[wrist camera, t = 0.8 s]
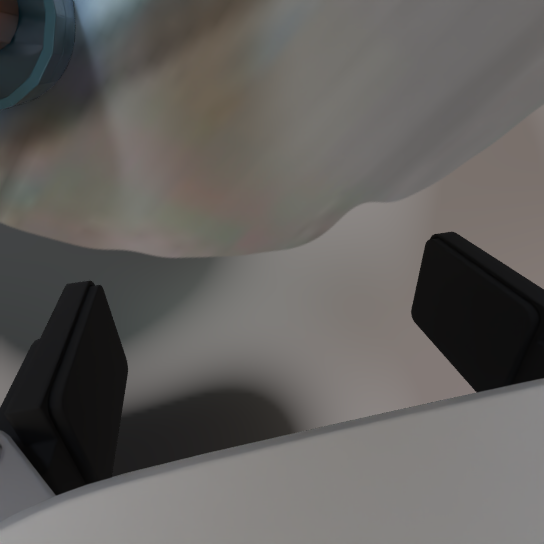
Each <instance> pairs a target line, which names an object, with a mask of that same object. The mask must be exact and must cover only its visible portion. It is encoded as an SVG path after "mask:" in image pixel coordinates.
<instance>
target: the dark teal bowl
mask: <svg viewBox="0 0 544 544" xmlns="http://www.w3.org/2000/svg"><path fill="white" fill-rule="evenodd" d="M17 3H18V13H19V18H18V25H17V29H16V31H15V34H14V36H13V38H12V39H11V42H10V43H9V44H7V45H6V46H5V47H3V48H2V49H1V50H0V110H4V109H7V108H10V107H13V106H16V105H19V104H22V103H25V102H28V101H31V100H34V99H37V98H38V97H40V96H41V95H42V94H44V93H45V92H47V91H48V90H49V89H50V88H51V87H52V86H54V85H55V84H56V82H57V81H58V80H59V79H60V77H61V76H62V75H63V73H64V71H65V69H66V67H67V66H68V63H69V60H70V58H71V55H72V51H73V46H74V41H75V11H74V6H73V0H17Z"/></svg>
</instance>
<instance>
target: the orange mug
mask: <svg viewBox="0 0 544 544" xmlns="http://www.w3.org/2000/svg"><path fill="white" fill-rule="evenodd" d="M18 18H19V13H18V3H17V0H0V50H1V49H2V48H3V47H5V46H6V45H7V44H9V43H10V42H11V39H12V38H13V36H14V34H15V31H16V29H17V25H18Z"/></svg>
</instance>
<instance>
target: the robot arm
mask: <svg viewBox="0 0 544 544" xmlns="http://www.w3.org/2000/svg"><path fill="white" fill-rule="evenodd" d="M411 314H412V318H413V320H414V322H415V323H416V324H417V325H418V326H419V328H420V329H421V330H422V331H423V332H424V333H425V334H426V336H427V337H428V338H429V339H430V340H431V341H432V342H433V343H434V345H435V346H436V347H437V348H438V349H439V350H440V351H441V352H442V353H443V355H444V356H445V357H446V358H447V359H448V360H449V361H450V363H451V364H452V365H453V366H454V367H455V368H456V369H457V371H458V372H459V373H460V374H461V375H462V376H463V377H464V379H465V380H466V381H467V382H468V383H469V384H470V385H471V386H472V388H473V389H474V390H475V391H476V392H477V393H473V394H468V395H464V396H459V397H454V398H450V399H445V400H440V401H436V402H431V403H427V404H423V405H418V406H414V407H409V408H404V409H400V410H395V411H391V412H386V413H382V414H378V415H373V416H369V417H365V418H360V419H356V420H351V421H346V422H342V423H338V424H333V425H329V426H324V427H320V428H315V429H311V430H306V431H303V432H298V433H293V434H289V435H285V436H280V437H276V438H272V439H267V440H263V441H258V442H254V443H250V444H245V445H241V446H237V447H233V448H228V449H223V450H219V451H215V452H210V453H206V454H202V455H198V456H194V457H190V458H187V459H182V460H178V461H174V462H170V463H166V464H162V465H158V466H154V467H150V468H146V469H141V470H137V471H133V472H129V473H126V474H122V475H119V476H115V477H112V472H113V466H114V459H115V452H116V446H117V439H118V433H119V427H120V420H121V413H122V407H123V401H124V394H125V388H126V381H127V374H128V365H127V360H126V356H125V354H124V350H123V347H122V344H121V341H120V338H119V335H118V332H117V329H116V326H115V323H114V320H113V317H112V314H111V311H110V308H109V305H108V302H107V299H106V296H105V293H104V290H103V288H102V286H101V285H96V286H95V285H94V283H93V282H92V281H86V282H78V283H71V284H67V285H66V286H65V288H64V290H63V292H62V294H61V296H60V298H59V300H58V303H57V305H56V307H55V309H54V311H53V313H52V315H51V317H50V319H49V321H48V323H47V326H46V327H45V330H44V332H43V334H42V336H41V338H40V339H38V340H36V341H35V342H34V343H33V344H32V345H31V347H30V350H29V351H28V353H27V355H26V357H25V359H24V361H23V363H22V366H21V367H20V369H19V371H18V373H17V375H16V377H15V379H14V381H13V383H12V385H11V387H10V389H9V391H8V393H7V395H6V398H5V399H4V401H3V403H2V405H1V407H0V544H544V289H542V288H541V287H539V286H537V285H536V284H534V283H533V282H531V281H530V280H528V279H527V278H525V277H523V276H522V275H520V274H519V273H517V272H516V271H514V270H512V269H511V268H509V267H508V266H506V265H505V264H503V263H502V262H500V261H498V260H497V259H496V258H494V257H492V256H491V255H489V254H488V253H486V252H485V251H483V250H482V249H480V248H478V247H477V246H475V245H474V244H472V243H471V242H469V241H468V240H466V239H464V238H463V237H461V236H460V235H458V234H457V233H454V232H447V233H440V234H434V235H432V237H431V238H430V240H428V241H427V242H426V245H425V250H424V254H423V258H422V263H421V268H420V273H419V277H418V282H417V286H416V291H415V296H414V301H413V305H412V310H411Z"/></svg>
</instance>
